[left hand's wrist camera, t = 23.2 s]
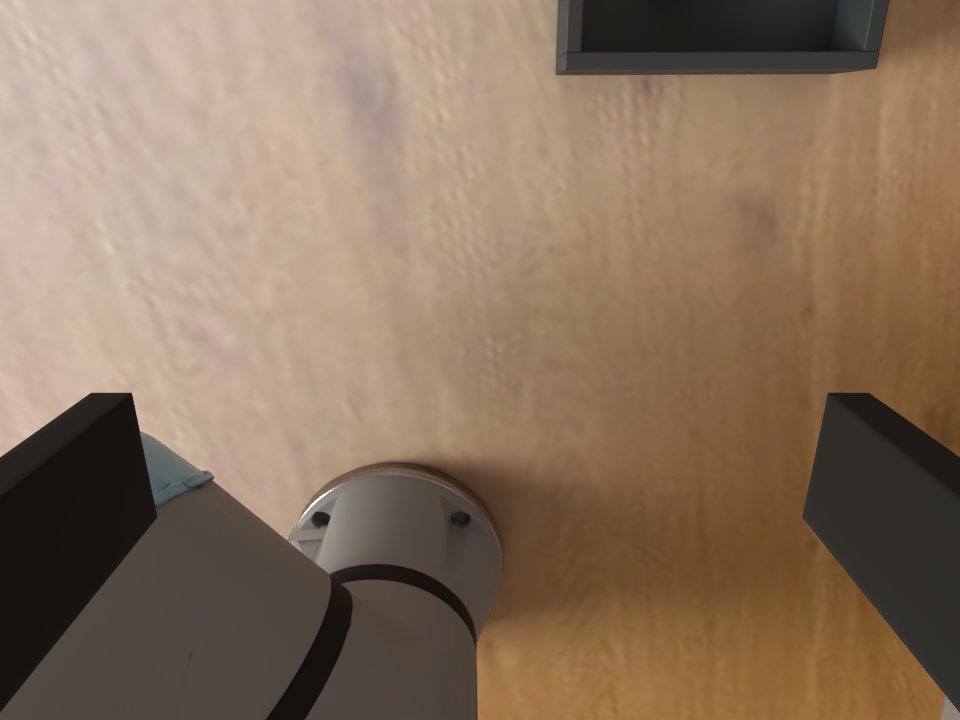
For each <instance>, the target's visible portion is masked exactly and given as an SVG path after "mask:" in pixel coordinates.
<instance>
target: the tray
mask: <svg viewBox="0 0 960 720" xmlns="http://www.w3.org/2000/svg"><path fill="white" fill-rule="evenodd" d="M888 5H889V0H558V22H557V51H556V75H678V74H836V73H844V72H852V71H860V70H869V69H875V68H876V67H877V62H878V56H879V50H880V46H881V41H882V36H883V30H884V25H885V20H886V15H887V10H888Z"/></svg>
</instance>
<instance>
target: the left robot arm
mask: <svg viewBox="0 0 960 720" xmlns="http://www.w3.org/2000/svg"><path fill="white" fill-rule="evenodd" d="M214 478H215V477H214V476H213V475H212V474H211V473H210V472H209V471H200V470H199V469H197V468H196V467H194V466H193V465H192V464H190V463H189V462H187V461H186V460H184V459H183V458H182V457H180V456H179V455H177V454H176V453H175V452H173V451H172V450H170V449H169V448H168V447H166V446H165V445H163V444H162V443H161V442H159V441H158V440H157V439H155V438H154V437H152V436H150V435H148V434H146V433H143V432H140V430H139V425H138V420H137V416H136V411H135V406H134V401H133V396H132V393H90V394H89V395H88V396H86V397H85V398H83V399H82V400H80V401H79V402H78V403H76V404H75V405H73V406H72V407H71V408H69V409H68V410H66V411H65V412H64V413H62V414H61V415H59V416H58V417H57V418H55V419H54V420H52V421H51V422H50V423H48V424H47V425H45V426H44V427H42V428H41V429H40V430H38V431H37V432H35V433H34V434H33V435H31V436H30V437H28V438H27V439H26V440H24V441H23V442H21V443H20V444H19V445H17V446H16V447H14V448H13V449H11V450H10V451H9V452H7V453H6V454H4V455H3V456H2V457H0V720H477V656H476V643H477V641H478V639H479V636H480V634H481V632H482V630H483V627H484V625H485V623H486V621H487V618H488V616H489V614H490V612H491V609H492V607H493V605H494V603H495V600H496V598H497V595H498V592H499V588H500V585H501V580H502V571H503V563H502V545H501V539H500V535H499V531H498V528H497V526H496V523H495V521H494V519H493V517H492V515H491V514H490V512H489V511H488V509H487V508H486V506H485V505H484V504H483V503H482V501H481V500H480V499H479V498H478V497H477V496H476V495H475V494H474V493H473V492H472V491H471V490H469V489H468V488H467V487H465V486H464V485H463V484H461V483H460V482H458V481H456V480H455V479H453V478H451V477H449V476H447V475H445V474H443V473H440V472H438V471H435V470H432V469H429V468H426V467H421V466H417V465H410V464H398V463H389V464H377V465H371V466H366V467H362V468H359V469H356V470H352V471H350V472H348V473H345V474H343V475H341V476H339V477H337V478H336V479H334V480H332V481H331V482H329V483H328V484H327V485H325V486H324V487H323V488H322V489H321V490H319V491H318V492H317V493H316V494H315V496H314V497H313V498H312V499H311V500H310V502H309V503H308V504H307V506H306V507H305V509H304V511H303V512H302V514H301V517H300V519H299V521H298V523H297V526H296V527H293V529H292V531H291V533H290V536H289V538H288V540H286V539H284V538H283V537H282V536H281V535H279V534H278V533H277V532H276V531H275V530H273V529H272V528H271V527H270V526H268V525H267V524H266V523H265V522H263V521H262V520H261V519H260V518H258V517H257V516H256V515H255V514H253V513H252V512H251V511H250V510H248V509H247V508H246V507H245V506H244V505H242V504H241V503H240V502H239V501H237V500H236V499H235V498H234V497H232V496H231V495H230V494H229V493H227V492H226V491H225V490H224V489H222V488H221V487H220V486H219V485H218V484H216V483H215V482H214V481H213V480H212V479H214ZM803 519H804V520H805V521H806V522H807V524H808V525H809V526H810V527H811V528H812V530H813V531H814V532H815V533H816V535H817V536H818V537H819V538H820V540H821V541H822V542H823V543H824V545H825V546H826V547H827V548H828V550H829V551H830V552H831V553H832V555H833V556H834V557H835V558H836V560H837V561H838V562H839V563H840V564H841V566H842V567H843V568H844V569H845V571H846V572H847V573H848V574H849V576H850V577H851V578H852V579H853V581H854V582H855V583H856V584H857V586H858V587H859V588H860V589H861V591H862V592H863V593H864V594H865V596H866V597H867V598H868V599H869V600H870V602H871V603H872V604H873V605H874V607H875V608H876V609H877V610H878V612H879V613H880V614H881V615H882V617H883V618H884V619H885V620H886V622H887V623H888V624H889V625H890V627H891V628H892V629H893V630H894V632H895V633H896V634H897V635H898V637H899V638H900V639H901V640H902V641H903V643H904V644H905V645H906V646H907V648H908V649H909V650H910V651H911V653H912V654H913V655H914V656H915V658H916V659H917V660H918V661H919V663H920V664H921V665H922V666H923V668H924V669H925V670H926V671H927V673H928V674H929V675H930V676H931V677H932V679H933V680H934V681H935V682H936V684H937V685H938V686H939V687H940V689H941V690H942V691H943V692H944V694H945V695H946V696H947V697H948V699H949V700H950V701H951V702H952V704H953V705H954V706H955V707H956V709H957V710H958V711H959V712H960V457H958V456H957V455H956V454H954V453H953V452H951V451H950V450H949V449H947V448H946V447H944V446H943V445H941V444H940V443H939V442H937V441H936V440H934V439H933V438H932V437H930V436H929V435H927V434H926V433H925V432H923V431H922V430H920V429H919V428H918V427H916V426H915V425H913V424H912V423H910V422H909V421H908V420H906V419H905V418H903V417H902V416H901V415H899V414H898V413H896V412H895V411H894V410H892V409H891V408H889V407H888V406H887V405H885V404H884V403H882V402H881V401H880V400H878V399H877V398H875V397H874V396H872V395H871V394H870V393H828V396H827V401H826V406H825V411H824V416H823V420H822V425H821V430H820V435H819V440H818V445H817V449H816V454H815V459H814V464H813V469H812V474H811V479H810V483H809V488H808V493H807V498H806V503H805V508H804V512H803ZM288 541H291V542H290V543H289V542H288Z"/></svg>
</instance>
